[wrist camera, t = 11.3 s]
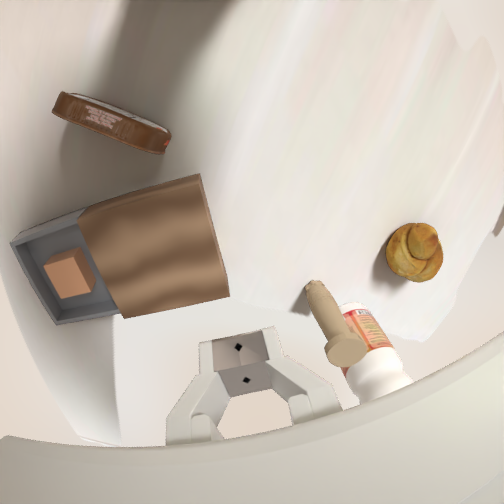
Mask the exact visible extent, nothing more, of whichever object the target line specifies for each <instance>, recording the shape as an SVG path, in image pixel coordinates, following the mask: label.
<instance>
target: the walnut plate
mask: <svg viewBox="0 0 504 504" xmlns="http://www.w3.org/2000/svg"><path fill="white" fill-rule="evenodd" d="M76 221H77V223H78V225H79V228H80V230H81V233H82V235H83V237H84V240H85V242H86V244H87V246H88V249H89V251H90V253H91V255H92V257H93V260H94V262H95V264H96V266H97V268H98V270H99V272H100V274H101V276H102V278H103V280H104V282H105V284H106V286H107V288H108V290H109V292H110V294H111V296H112V298H113V300H114V302H115V303H116V305H117V307H118V309H119V311H120V313H121V314H122V316H123V318H124V319H126V318H131V317H136V316H141V315H146V314H151V313H156V312H161V311H166V310H170V309H176V308H180V307H185V306H190V305H194V304H199V303H203V302H208V301H213V300H217V299H221V298H226V297H230V293H229V286H228V279H227V274H226V270H225V267H224V263H223V259H222V256H221V252H220V249H219V245H218V241H217V237H216V234H215V230H214V226H213V222H212V219H211V215H210V211H209V207H208V203H207V200H206V196H205V192H204V188H203V184H202V180H201V176H200V173H199V174H195V175H192V176H188V177H184V178H180V179H176V180H173V181H169V182H165V183H162V184H158V185H155V186H151V187H148V188H144V189H141V190H138V191H134V192H131V193H128V194H125V195H122V196H118V197H115V198H112V199H109V200H106V201H103V202H100V203H97V204H94V205H91V206H89V207H88V208H87V209H86V210H85V212H84V213H83V214H82V215H81V216H80V217H79V218H78V219H77V220H76Z"/></svg>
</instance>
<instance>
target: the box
mask: <svg viewBox="0 0 504 504" xmlns="http://www.w3.org/2000/svg"><path fill="white" fill-rule="evenodd" d="M87 208H88V207H86V208H83V209H80V210H77V211H74V212H72V213H69V214H66V215H63V216H61V217H58V218H56V219H53V220H50V221H48V222H45V223H43V224H40V225H38V226H35V227H33V228H30V229H28V230H26V231H23V232H21V233H19V234H18V235H17V236H16V237H15V238H14V239H13V240H12V241H11V242H10V245H11V247H12V249H13V251H14V253H15V255H16V257H17V259H18V261H19V263H20V265H21V267H22V269H23V271H24V273H25V275H26V276H27V278H28V280H29V282H30V284H31V285H32V287H33V289H34V291H35V292H36V294H37V296H38V297H39V299H40V301H41V302H42V304H43V306H44V307H45V309H46V311H47V312H48V314H49V315H50V317H51V318H52V320H53V321H54V323H55V324H56V325H61V324H66V323H72V322H78V321H83V320H88V319H94V318H99V317H104V316H109V315H115V314H119V313H120V311H119V309H118V307H117V305H116V303H115V302H114V300H113V298H112V296H111V294H110V292H109V290H108V288H107V286H106V284H105V282H104V280H103V278H102V276H101V274H100V272H99V270H98V268H97V266H96V264H95V262H94V260H93V257H92V255H91V253H90V251H89V249H88V246H87V244H86V242H85V240H84V237H83V235H82V233H81V230H80V228H79V225H78V223H77V221H76V220H77V219H78V218H79V217H80V216H81V215H82V214H83V213H84V212H85V210H86V209H87ZM78 247H81V249H82V251H83V253H84V256H85V258H86V260H87V262H88V264H89V266H90V268H91V270H92V272H93V274H94V276H95V278H96V282H95V285H94V287H93V289H92V291H91V292H88V293H84V294H80V295H75V296H71V297H67V298H62V299H61V298H60V296H59V294H58V292H57V291H56V289H55V287H54V285H53V284H52V282H51V280H50V278H49V276H48V274H47V272H46V271H45V269H44V267H43V266H44V265H45V263H46V262H47V261H48V259H49V258H50V257H51V256H53V255H56V254H59V253H62V252H65V251H68V250H71V249H75V248H78Z"/></svg>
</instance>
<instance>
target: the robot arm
mask: <svg viewBox="0 0 504 504" xmlns="http://www.w3.org/2000/svg"><path fill="white" fill-rule="evenodd" d="M199 373H200V375H196V376H195V377H194V379H193V380H192V382H191V383H190V385H189V386H188V388H187V389H186V390H185V392H184V393H183V395H182V396H181V398H180V399H179V401H178V402H177V403H176V405H175V406H174V408H173V409H172V411H171V412H170V413H169V415H168V416H167V418H166V446H156V447H96V446H79V445H67V444H57V443H50V442H42V441H36V440H30V439H24V438H19V437H14V436H5V437H3V438H2V439H1V440H0V504H504V331H503V332H502V333H500V334H499V335H497V336H496V337H494V338H493V339H491V340H490V341H488V342H487V343H485V344H483V345H482V346H480V347H479V348H477V349H475V350H474V351H472V352H470V353H469V354H467V355H465V356H463V357H462V358H460V359H458V360H457V361H455V362H453V363H451V364H449V365H447V366H445V367H444V368H442V369H440V370H438V371H436V372H434V373H432V374H430V375H428V376H426V377H424V378H422V379H420V380H418V381H416V382H413V383H411V384H409V385H407V386H405V387H402V388H400V389H398V390H395V391H393V392H391V393H388V394H386V395H384V396H381V397H379V398H376V399H374V400H371V401H368V402H366V403H363V404H360V405H358V406H355V407H352V408H349V409H346V410H344V411H343V410H342V407H341V405H340V402H339V400H338V397H337V395H336V393H335V390H334V388H333V385H332V384H331V383H329V382H328V381H326V380H324V379H323V378H321V377H320V376H318V375H317V374H315V373H314V372H312V371H311V370H309V369H308V368H306V367H304V366H303V365H301V364H300V363H298V362H297V361H295V360H294V359H292V358H291V357H290V356H284V354H283V351H282V347H281V344H280V341H279V338H278V334H277V331H276V328H275V327H274V326H272V327H268V328H264V329H262V330H261V329H260V330H256V331H252V332H248V333H244V334H239V335H236V336H230V337H225V338H220V339H215V340H211V341H205V342H200V343H199ZM267 389H273V390H274V391H275V392H277V394H278V395H280V396H281V397H282V398H283V399H284V400H285V401H287V402H288V403H289V409H290V414H291V420H292V425H293V426H289V427H285V428H280V429H276V430H272V431H267V432H263V433H258V434H253V435H248V436H242V437H236V438H231V439H224V437H223V436H222V435H221V433H220V432H219V430H218V429H217V426H218V424H219V422H220V420H221V417H222V416H223V413H224V411H225V409H226V407H227V405H228V403H229V401H230V397H235V396H239V395H243V394H247V393H251V392H257V391H262V390H267Z"/></svg>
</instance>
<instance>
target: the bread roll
mask: <svg viewBox="0 0 504 504" xmlns="http://www.w3.org/2000/svg"><path fill="white" fill-rule="evenodd" d="M386 258H387V263H388V265H389V267H390V269H391V270H392V271H393V272H394V273H396V274H398V275H399V276H403V277H405V278H407V279H408V280H411V281H413V282H424V281H427V280H430V279H432V278H433V277H434V276H435V275H436V274H437V272H438V271H439V269H440V267H441V265H442V263H443V251H442V246H441V243H440V241H439V239H438V235H437V232H436V230H435V229H434V228H433V227H431V226H430V225H428V224H425V223H417V224H416V223H408V224H406V225H403V226H402V227H400V228H399V229H398V230H396V232H395V233H394V234H393V236H392V237H391V239H390V241H389V243H388V245H387V248H386Z"/></svg>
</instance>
